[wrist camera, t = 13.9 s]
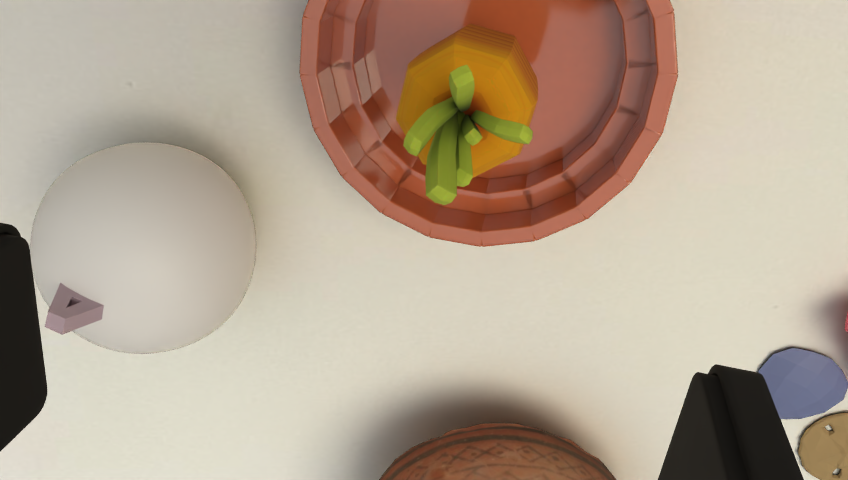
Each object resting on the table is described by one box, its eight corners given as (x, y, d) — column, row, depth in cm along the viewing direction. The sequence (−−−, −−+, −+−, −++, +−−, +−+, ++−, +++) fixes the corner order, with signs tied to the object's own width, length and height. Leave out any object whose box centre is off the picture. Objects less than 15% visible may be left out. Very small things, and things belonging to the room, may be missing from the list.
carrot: (482, -24, 34) (426, 26, 20) (567, 46, 34) (568, 139, 21) (417, 64, 36) (328, 162, 22) (499, 128, 36) (460, 262, 23)
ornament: (124, 283, 45) (-15, 403, 34) (94, 114, 41) (-76, 191, 30) (289, 298, 43) (197, 429, 33) (275, 124, 39) (165, 208, 28)
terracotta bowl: (344, -151, 33) (310, -159, 29) (703, -105, 32) (726, -106, 27) (322, 177, 40) (292, 212, 35) (618, 230, 38) (625, 273, 34)
